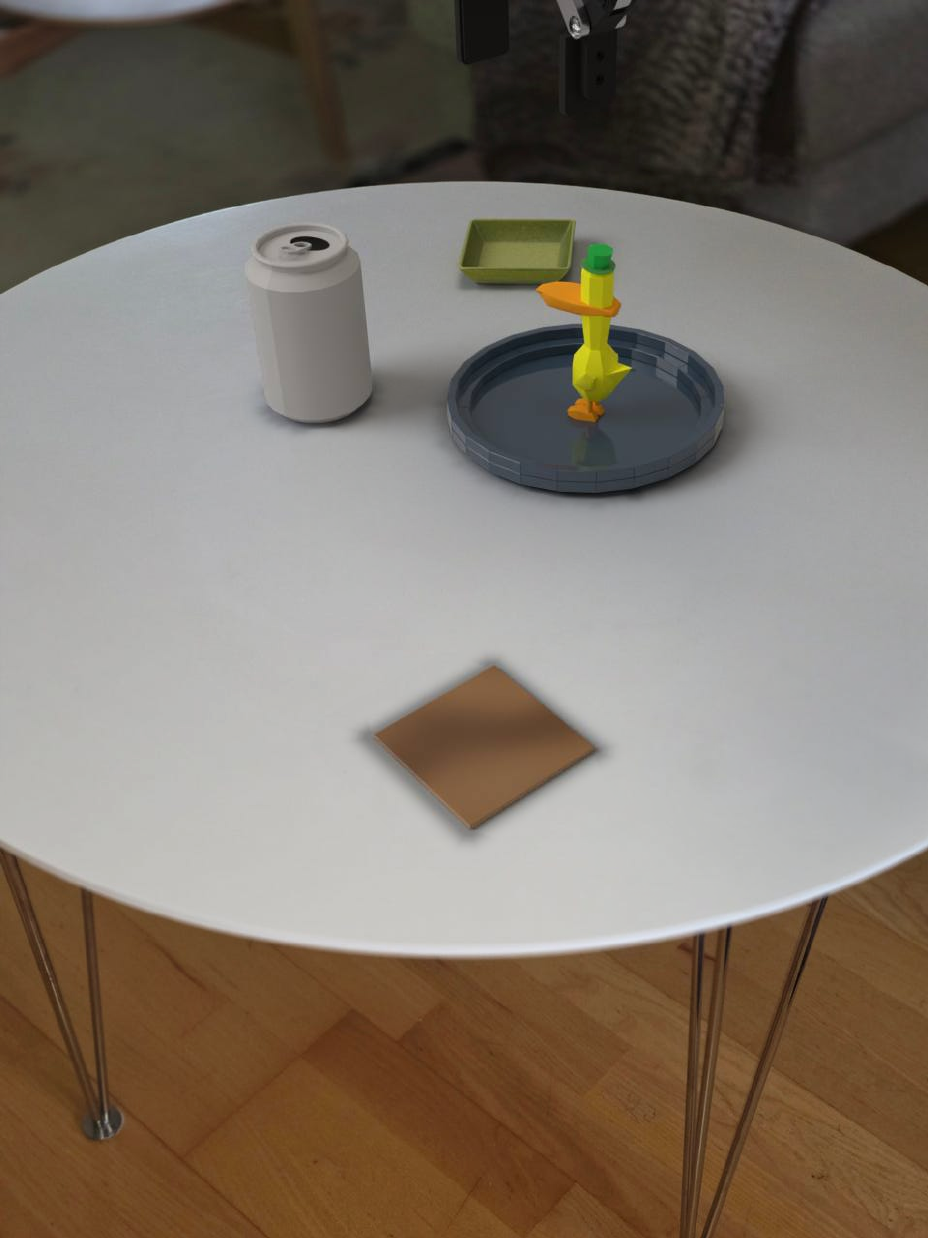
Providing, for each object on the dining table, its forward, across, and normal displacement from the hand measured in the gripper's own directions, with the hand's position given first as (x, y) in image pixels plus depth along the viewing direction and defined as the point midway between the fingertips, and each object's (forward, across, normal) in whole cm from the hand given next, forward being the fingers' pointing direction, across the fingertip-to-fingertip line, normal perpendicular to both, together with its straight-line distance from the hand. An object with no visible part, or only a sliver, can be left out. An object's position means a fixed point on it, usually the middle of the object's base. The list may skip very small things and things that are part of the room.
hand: (533, 82), depth 74 cm
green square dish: (+24, +22, -14) cm, 35 cm away
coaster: (+24, -20, +18) cm, 36 cm away
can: (+24, +14, +9) cm, 29 cm away
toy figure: (+23, +1, -5) cm, 24 cm away
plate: (+24, +1, -5) cm, 24 cm away
